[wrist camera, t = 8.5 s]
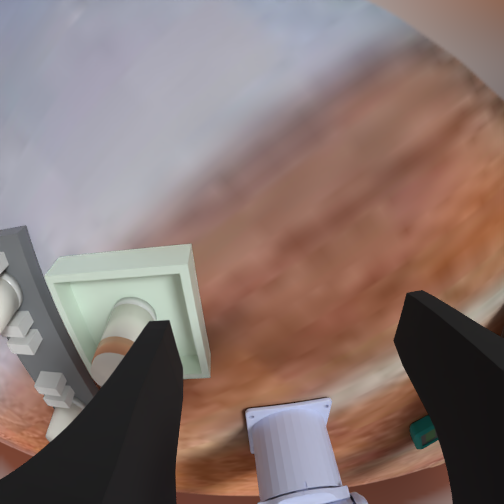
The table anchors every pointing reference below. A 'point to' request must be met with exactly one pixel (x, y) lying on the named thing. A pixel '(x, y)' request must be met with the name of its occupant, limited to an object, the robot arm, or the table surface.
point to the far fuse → (63, 418)
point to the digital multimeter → (423, 432)
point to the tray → (132, 285)
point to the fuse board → (41, 328)
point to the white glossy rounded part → (9, 298)
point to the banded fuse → (120, 335)
